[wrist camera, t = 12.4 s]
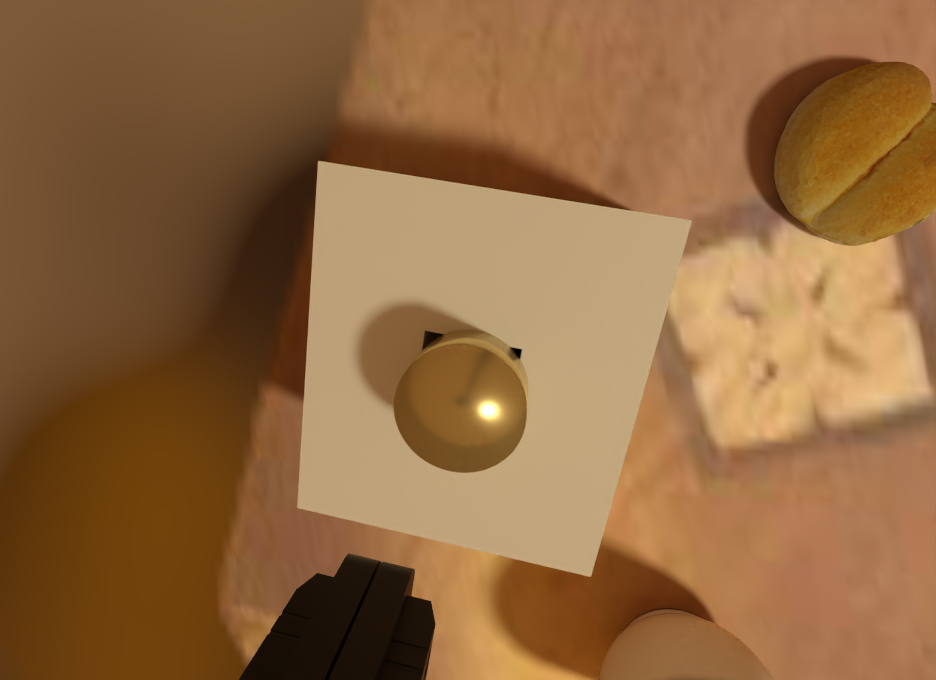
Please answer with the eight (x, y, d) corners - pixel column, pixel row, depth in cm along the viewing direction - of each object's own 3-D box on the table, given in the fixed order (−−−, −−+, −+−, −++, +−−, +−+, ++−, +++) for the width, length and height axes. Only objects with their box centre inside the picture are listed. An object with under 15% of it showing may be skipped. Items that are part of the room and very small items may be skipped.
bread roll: (863, 38, 25) (920, 7, 21) (971, 159, 26) (1045, 151, 22) (732, 161, 28) (762, 153, 24) (834, 269, 28) (880, 278, 24)
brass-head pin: (453, 287, 31) (401, 336, 19) (539, 303, 30) (538, 362, 19) (441, 368, 32) (387, 457, 21) (523, 385, 32) (513, 485, 20)
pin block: (387, 175, 30) (318, 160, 21) (642, 215, 29) (692, 220, 19) (362, 427, 36) (297, 507, 26) (577, 473, 34) (590, 577, 24)
